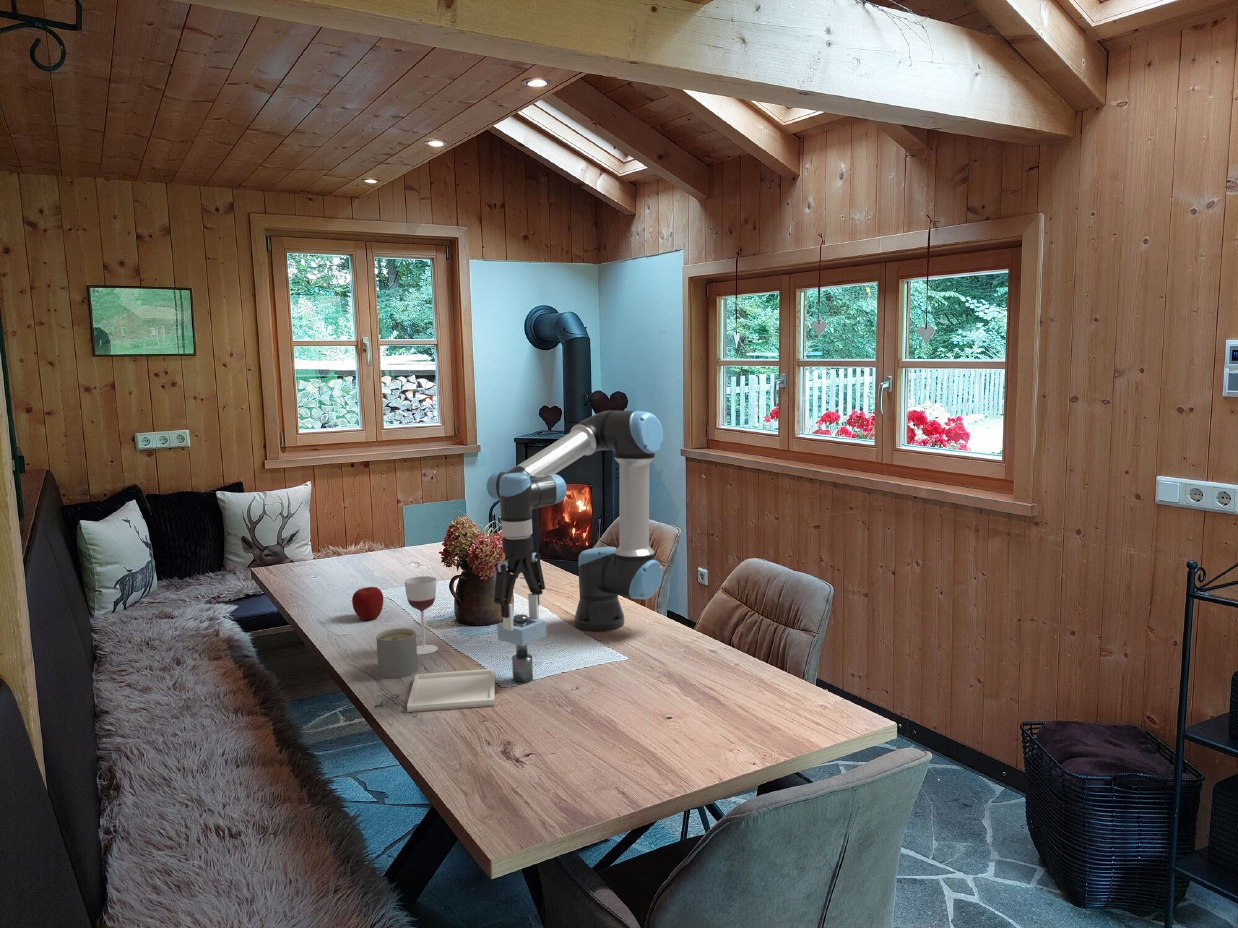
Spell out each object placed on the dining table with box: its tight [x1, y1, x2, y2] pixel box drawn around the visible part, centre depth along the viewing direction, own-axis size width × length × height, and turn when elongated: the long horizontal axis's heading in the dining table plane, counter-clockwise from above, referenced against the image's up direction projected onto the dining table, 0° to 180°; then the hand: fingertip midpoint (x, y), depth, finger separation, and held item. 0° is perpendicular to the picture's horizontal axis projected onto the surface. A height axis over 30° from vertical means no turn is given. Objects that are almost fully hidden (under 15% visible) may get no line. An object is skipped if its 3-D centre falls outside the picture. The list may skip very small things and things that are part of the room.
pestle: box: [511, 614, 534, 684], centre depth 216 cm, size 5×5×16 cm
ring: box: [497, 616, 547, 646], centre depth 215 cm, size 8×8×4 cm
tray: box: [406, 668, 496, 713], centre depth 209 cm, size 20×20×2 cm
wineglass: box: [404, 575, 439, 655], centre depth 239 cm, size 8×9×20 cm
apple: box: [351, 586, 384, 621], centre depth 270 cm, size 10×10×10 cm
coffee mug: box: [375, 627, 418, 679], centre depth 226 cm, size 13×10×10 cm
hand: (521, 624), depth 215 cm, fingers closed on ring, 8 cm apart
